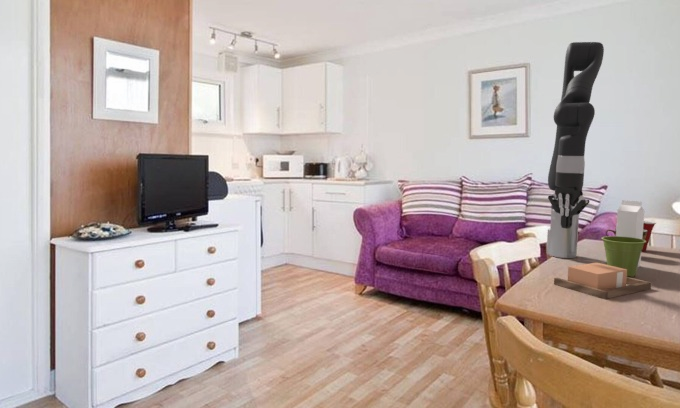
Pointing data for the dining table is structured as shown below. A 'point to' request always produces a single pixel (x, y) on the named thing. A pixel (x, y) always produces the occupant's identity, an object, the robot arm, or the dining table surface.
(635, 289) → the tray
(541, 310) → the dining table surface
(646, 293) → the dining table surface
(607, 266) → the carton
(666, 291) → the dining table surface
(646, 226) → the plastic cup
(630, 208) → the milk
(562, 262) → the dining table surface
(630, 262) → the plant pot
